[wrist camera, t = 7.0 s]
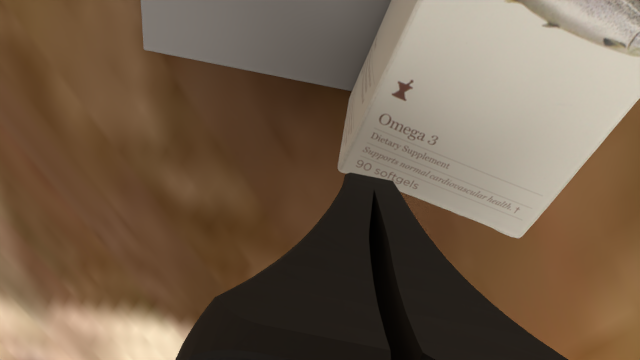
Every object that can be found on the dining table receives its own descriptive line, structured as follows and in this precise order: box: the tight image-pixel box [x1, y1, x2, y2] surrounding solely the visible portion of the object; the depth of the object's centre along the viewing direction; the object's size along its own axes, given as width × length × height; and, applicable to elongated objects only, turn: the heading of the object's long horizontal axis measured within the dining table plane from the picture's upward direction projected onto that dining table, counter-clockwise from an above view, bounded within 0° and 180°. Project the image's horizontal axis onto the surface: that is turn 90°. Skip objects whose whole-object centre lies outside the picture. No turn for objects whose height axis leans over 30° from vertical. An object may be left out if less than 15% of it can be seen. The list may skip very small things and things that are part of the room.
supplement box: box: [338, 0, 640, 238], centre depth 14 cm, size 7×7×13 cm
